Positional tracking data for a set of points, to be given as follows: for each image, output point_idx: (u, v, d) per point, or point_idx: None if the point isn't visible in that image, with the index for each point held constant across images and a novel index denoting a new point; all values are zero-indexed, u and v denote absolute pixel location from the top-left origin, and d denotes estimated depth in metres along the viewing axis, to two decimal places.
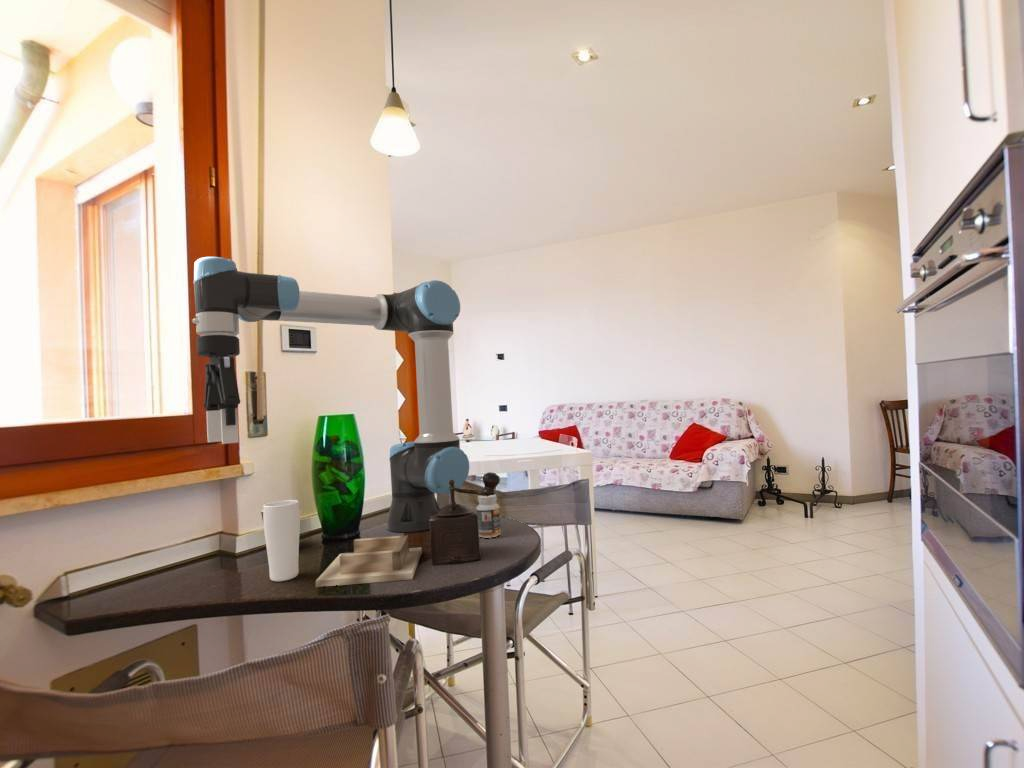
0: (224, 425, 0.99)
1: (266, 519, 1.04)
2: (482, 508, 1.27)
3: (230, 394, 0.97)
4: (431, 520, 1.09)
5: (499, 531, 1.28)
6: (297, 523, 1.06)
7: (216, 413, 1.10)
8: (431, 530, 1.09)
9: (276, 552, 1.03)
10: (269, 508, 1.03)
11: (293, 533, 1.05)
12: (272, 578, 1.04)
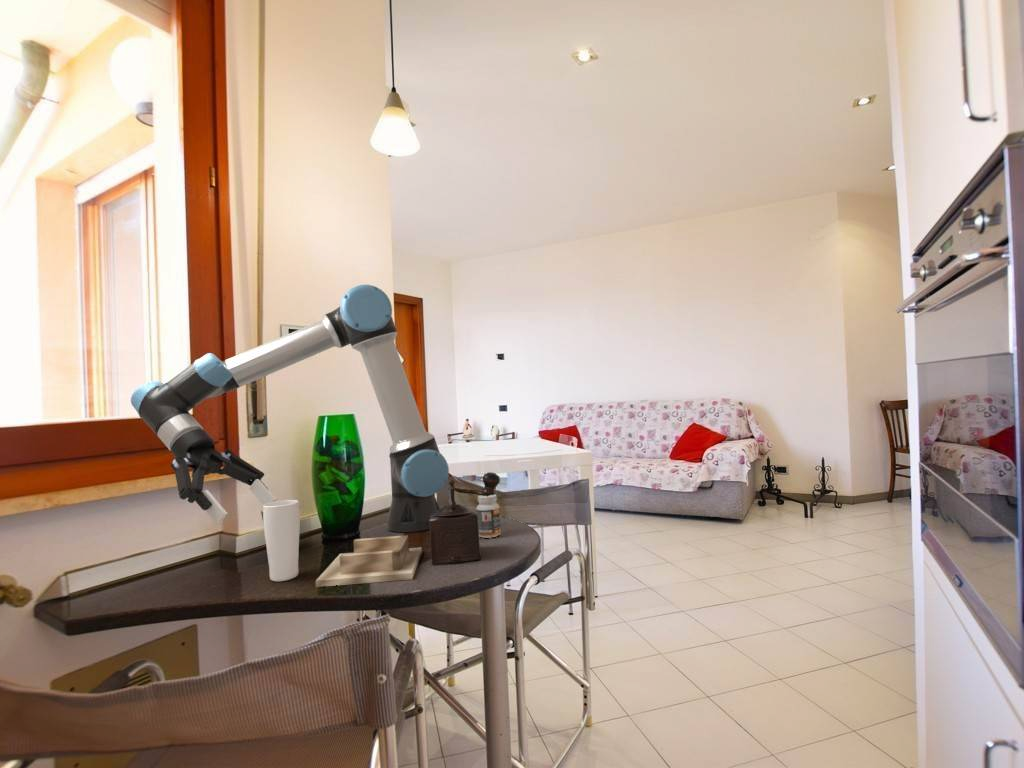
0: (207, 510, 1.02)
1: (266, 519, 1.04)
2: (482, 508, 1.27)
3: (181, 489, 1.00)
4: (431, 520, 1.09)
5: (499, 531, 1.28)
6: (297, 523, 1.06)
7: (255, 484, 1.15)
8: (431, 530, 1.09)
9: (276, 552, 1.03)
10: (269, 508, 1.03)
11: (293, 533, 1.05)
12: (272, 578, 1.04)
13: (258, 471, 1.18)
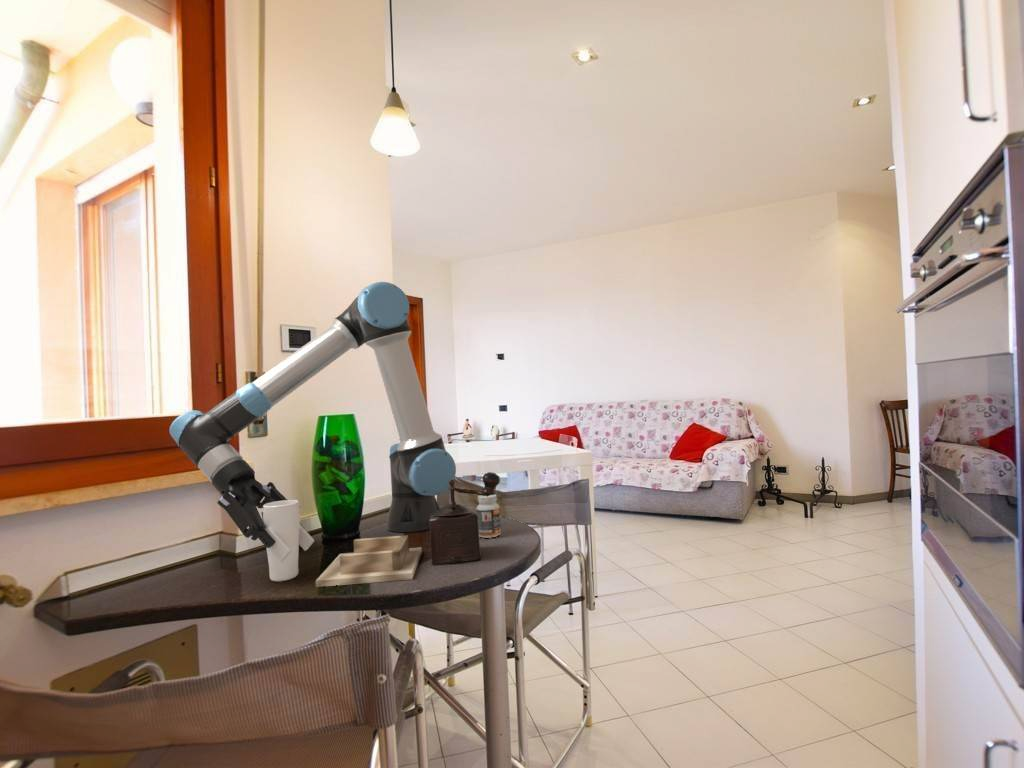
0: (270, 547, 1.02)
1: (266, 519, 1.04)
2: (482, 508, 1.27)
3: (244, 528, 1.01)
4: (431, 520, 1.09)
5: (499, 531, 1.28)
6: (297, 523, 1.06)
7: None
8: (431, 530, 1.09)
9: None
10: (269, 508, 1.03)
11: (293, 533, 1.05)
12: (272, 578, 1.04)
13: None
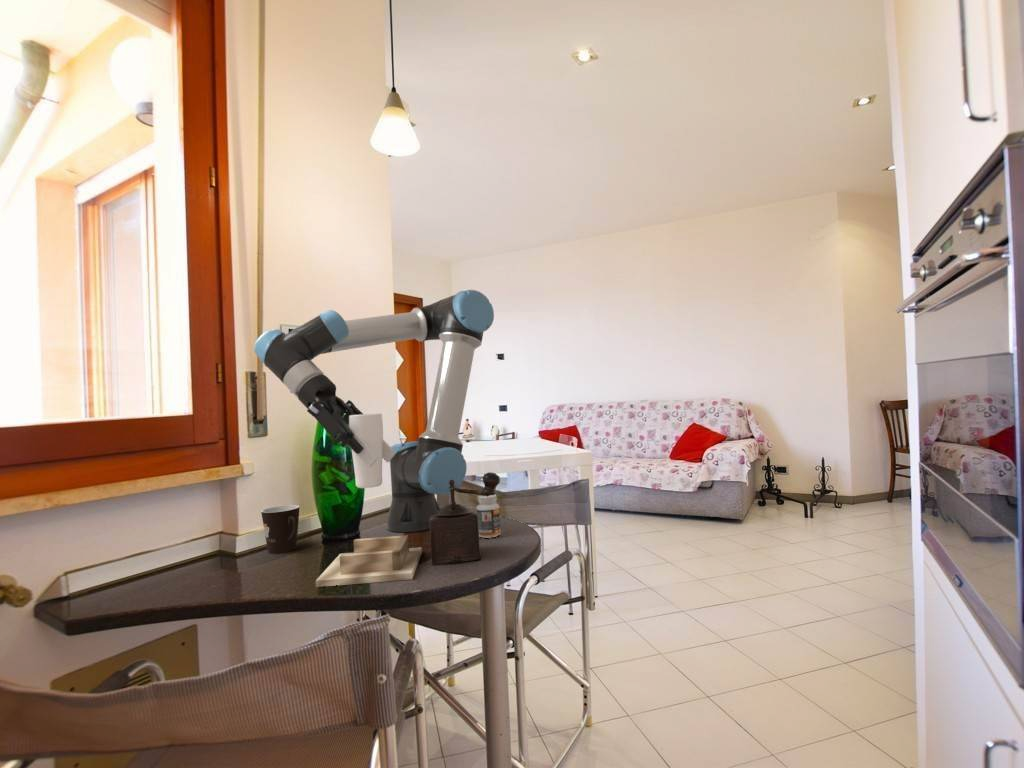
0: (358, 454, 1.06)
1: (353, 427, 1.07)
2: (482, 508, 1.27)
3: (334, 433, 1.04)
4: (431, 520, 1.09)
5: (499, 531, 1.28)
6: (381, 433, 1.09)
7: None
8: (431, 530, 1.09)
9: None
10: (356, 417, 1.07)
11: (378, 442, 1.08)
12: (359, 485, 1.07)
13: None
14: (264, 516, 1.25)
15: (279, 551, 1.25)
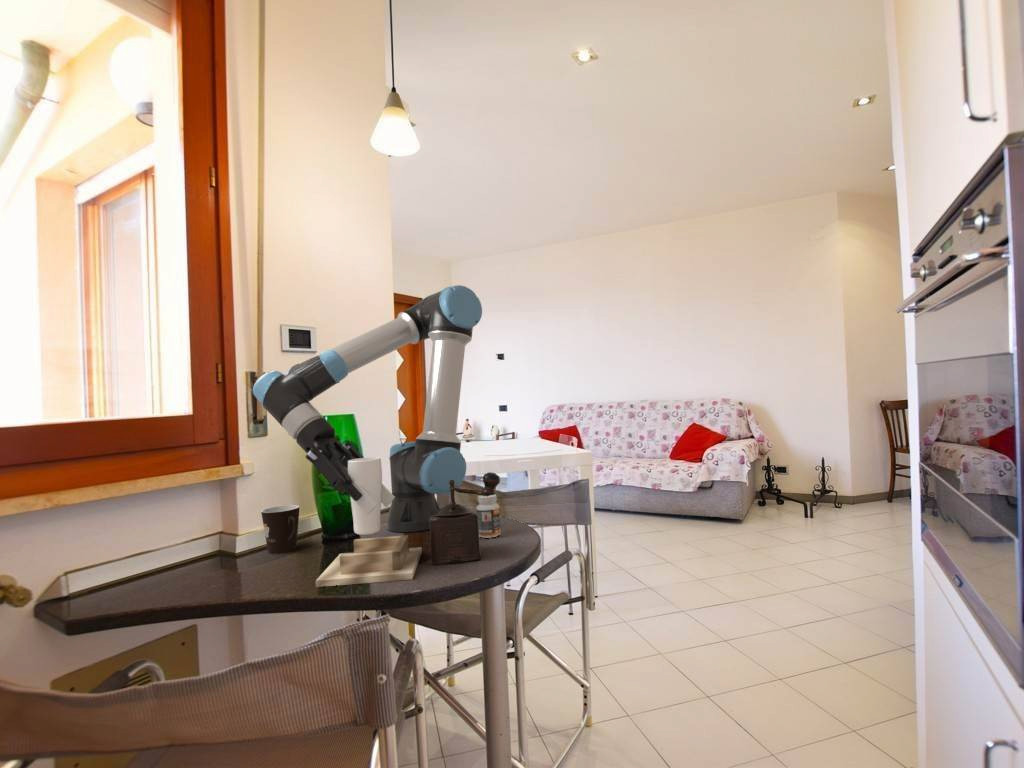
0: (357, 501, 1.05)
1: (352, 473, 1.06)
2: (482, 508, 1.27)
3: (333, 481, 1.03)
4: (431, 520, 1.09)
5: (499, 531, 1.28)
6: (380, 479, 1.08)
7: None
8: (431, 530, 1.09)
9: None
10: (355, 463, 1.06)
11: (377, 488, 1.07)
12: (357, 531, 1.06)
13: None
14: (264, 516, 1.25)
15: (279, 551, 1.25)
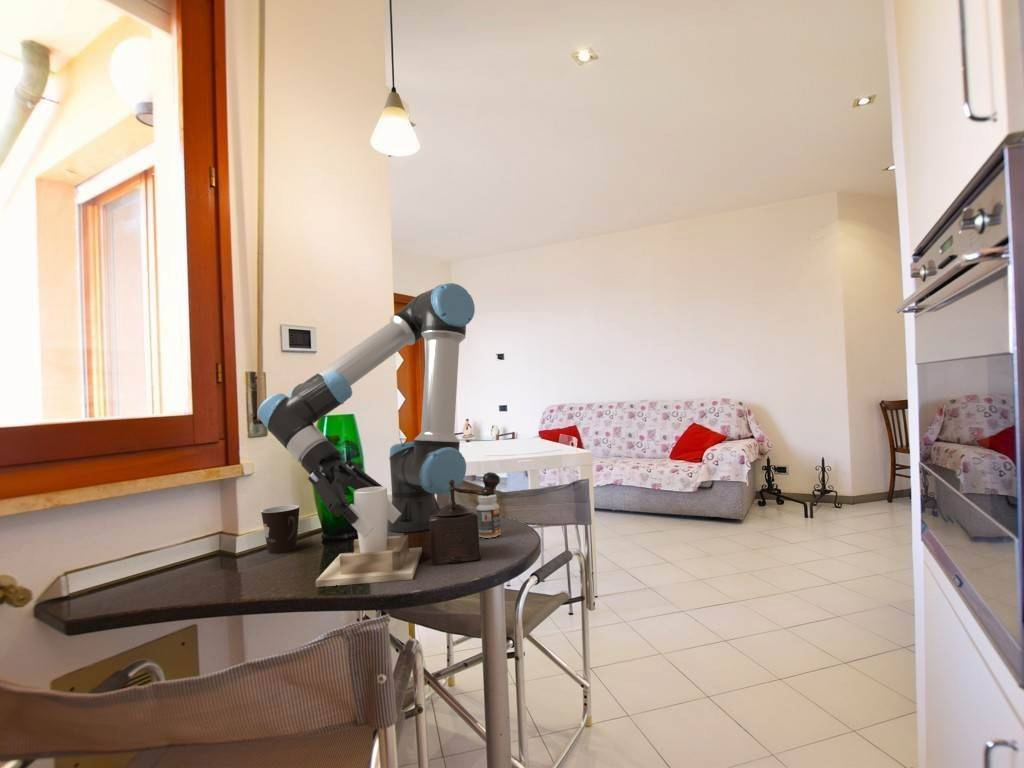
0: (353, 523, 1.03)
1: (358, 504, 1.07)
2: (482, 508, 1.27)
3: (329, 503, 1.02)
4: (431, 520, 1.09)
5: (499, 531, 1.28)
6: (386, 509, 1.09)
7: None
8: (431, 530, 1.09)
9: (367, 536, 1.06)
10: (361, 494, 1.07)
11: (382, 518, 1.08)
12: None
13: (378, 484, 1.18)
14: (264, 516, 1.25)
15: (279, 551, 1.25)
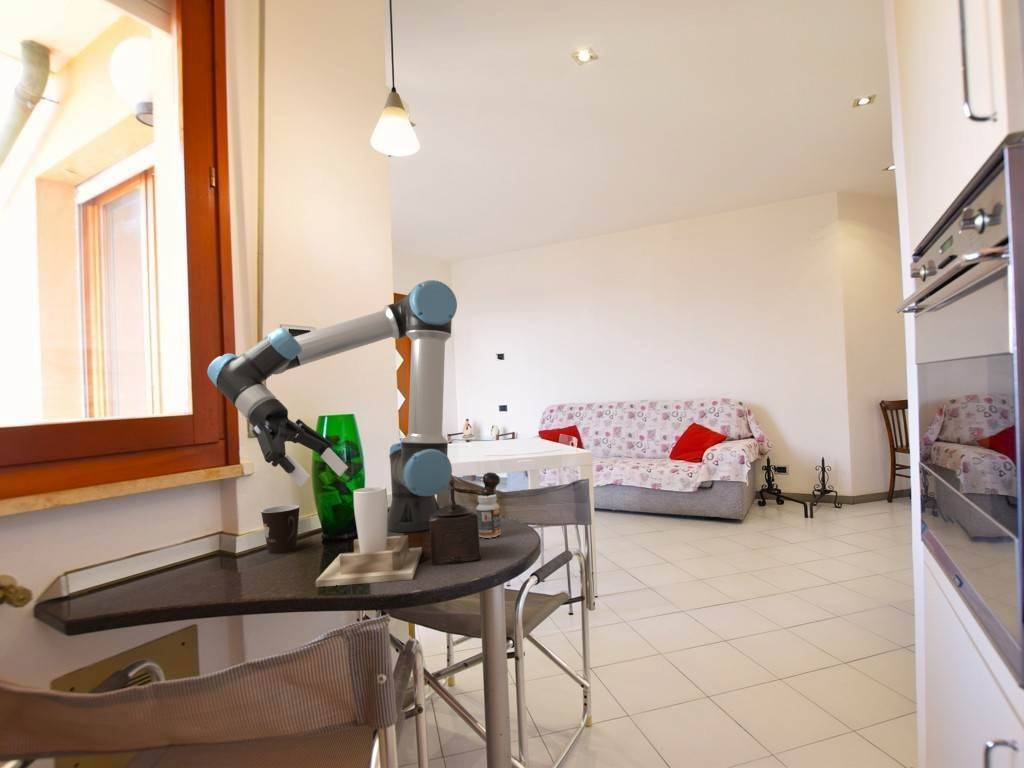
0: (290, 473, 1.06)
1: (357, 504, 1.07)
2: (482, 508, 1.27)
3: (266, 453, 1.05)
4: (431, 520, 1.09)
5: (499, 531, 1.28)
6: (386, 509, 1.09)
7: (326, 453, 1.19)
8: (431, 530, 1.09)
9: (367, 536, 1.06)
10: (360, 494, 1.07)
11: (382, 518, 1.08)
12: None
13: (327, 440, 1.22)
14: (264, 516, 1.25)
15: (279, 551, 1.25)
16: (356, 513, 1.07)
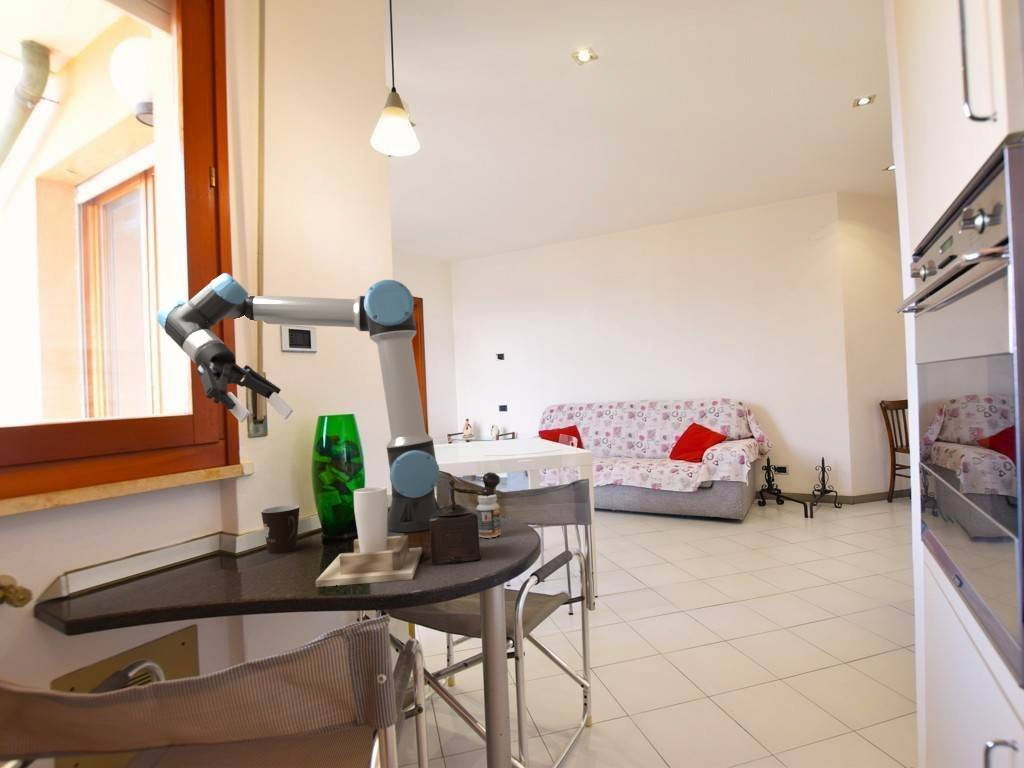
0: (231, 409, 1.10)
1: (357, 504, 1.07)
2: (482, 508, 1.27)
3: (207, 389, 1.09)
4: (431, 520, 1.09)
5: (499, 531, 1.28)
6: (386, 509, 1.09)
7: (272, 397, 1.24)
8: (431, 530, 1.09)
9: (367, 536, 1.06)
10: (360, 494, 1.07)
11: (382, 518, 1.08)
12: None
13: (275, 386, 1.27)
14: (264, 516, 1.25)
15: (279, 551, 1.25)
16: (356, 513, 1.07)
